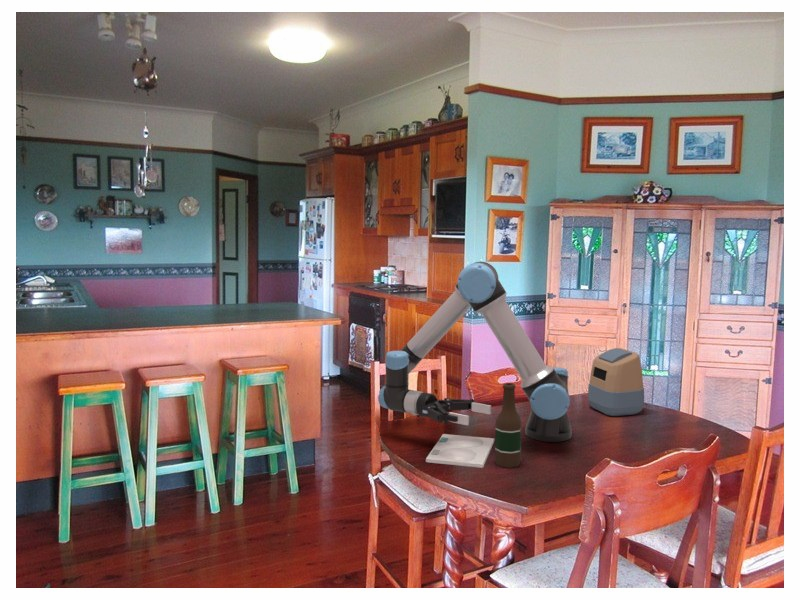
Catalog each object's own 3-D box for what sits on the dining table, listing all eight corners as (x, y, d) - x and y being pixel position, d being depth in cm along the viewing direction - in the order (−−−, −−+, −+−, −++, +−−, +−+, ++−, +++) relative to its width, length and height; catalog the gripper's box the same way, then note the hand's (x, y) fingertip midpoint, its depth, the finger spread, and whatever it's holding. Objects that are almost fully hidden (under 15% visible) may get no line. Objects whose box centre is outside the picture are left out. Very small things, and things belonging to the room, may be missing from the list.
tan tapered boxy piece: (583, 406, 250) (585, 347, 247) (621, 403, 254) (623, 345, 252) (608, 419, 234) (610, 356, 231) (648, 415, 238) (650, 353, 236)
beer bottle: (491, 459, 194) (492, 381, 191) (517, 458, 194) (518, 380, 191) (497, 468, 186) (499, 387, 183) (524, 468, 186) (526, 386, 184)
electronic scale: (494, 441, 209) (494, 437, 209) (482, 467, 186) (483, 463, 186) (443, 436, 214) (443, 433, 214) (425, 462, 191) (425, 458, 191)
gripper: (442, 406, 217) (498, 417, 204) (398, 424, 197) (458, 438, 184) (442, 384, 216) (499, 394, 204) (398, 400, 196) (458, 412, 184)
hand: (479, 415), depth 194 cm, fingers open, 13 cm apart
